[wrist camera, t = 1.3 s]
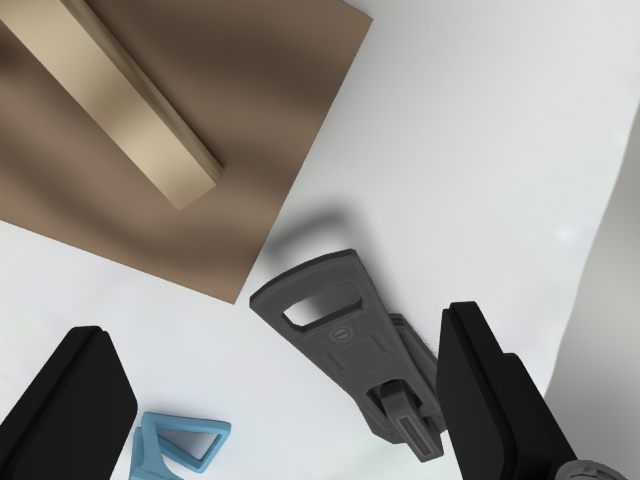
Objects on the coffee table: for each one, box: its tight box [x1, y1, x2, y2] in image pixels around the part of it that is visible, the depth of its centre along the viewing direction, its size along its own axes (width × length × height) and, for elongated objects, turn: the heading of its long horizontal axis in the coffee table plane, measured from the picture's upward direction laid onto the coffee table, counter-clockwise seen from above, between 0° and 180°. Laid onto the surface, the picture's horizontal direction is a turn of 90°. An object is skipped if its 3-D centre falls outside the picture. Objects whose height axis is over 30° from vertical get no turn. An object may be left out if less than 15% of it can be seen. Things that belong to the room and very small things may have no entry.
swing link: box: [0, 0, 224, 211], centre depth 23 cm, size 18×4×2 cm, turn 34°
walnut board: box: [0, 0, 373, 305], centre depth 26 cm, size 22×24×2 cm
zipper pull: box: [249, 249, 447, 463], centre depth 34 cm, size 9×7×25 cm
